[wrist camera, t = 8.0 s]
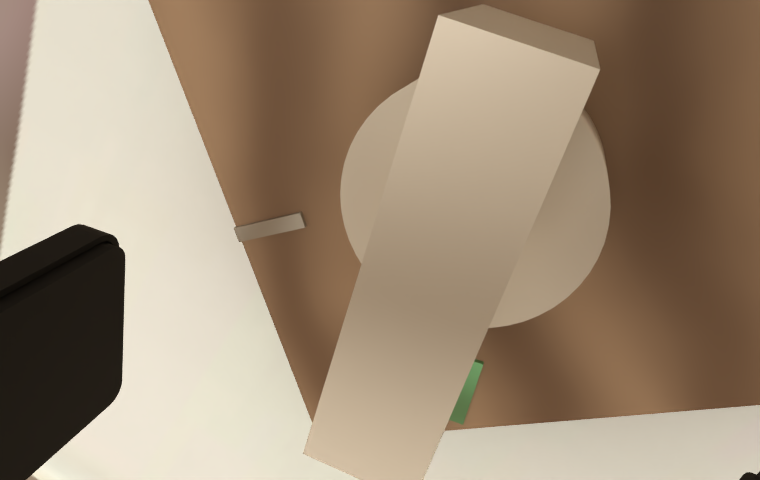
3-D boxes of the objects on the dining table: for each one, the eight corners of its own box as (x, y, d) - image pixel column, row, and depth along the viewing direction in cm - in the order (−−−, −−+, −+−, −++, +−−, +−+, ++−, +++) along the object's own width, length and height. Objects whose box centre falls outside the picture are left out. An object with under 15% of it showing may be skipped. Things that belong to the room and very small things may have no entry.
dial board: (763, -278, 17) (781, -303, 15) (837, 372, 22) (855, 400, 21) (163, -25, 24) (135, -25, 23) (331, 420, 30) (317, 443, 28)
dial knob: (419, -25, 20) (311, -28, 12) (674, 59, 19) (745, 117, 11) (303, 382, 27) (185, 551, 19) (482, 460, 26) (437, 675, 18)
